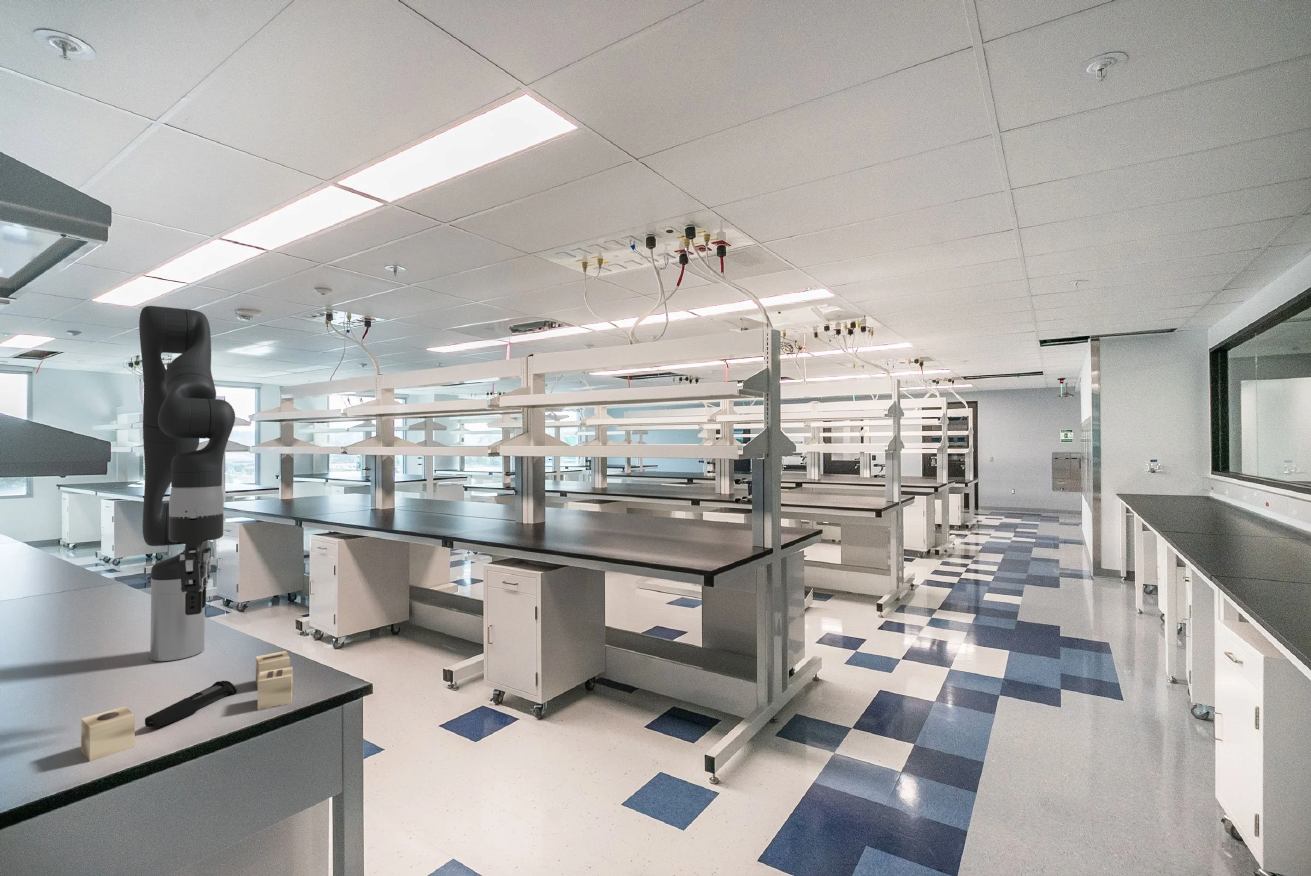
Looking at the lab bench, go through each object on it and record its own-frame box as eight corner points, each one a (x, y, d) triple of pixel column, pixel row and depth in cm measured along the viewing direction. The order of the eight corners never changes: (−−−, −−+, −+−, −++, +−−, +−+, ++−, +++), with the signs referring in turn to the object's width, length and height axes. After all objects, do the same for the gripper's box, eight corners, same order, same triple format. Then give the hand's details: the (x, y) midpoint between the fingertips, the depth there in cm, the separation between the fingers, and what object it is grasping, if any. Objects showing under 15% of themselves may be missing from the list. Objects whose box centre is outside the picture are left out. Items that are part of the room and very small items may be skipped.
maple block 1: (81, 751, 88) (81, 717, 88) (124, 737, 92) (125, 705, 92) (89, 762, 85) (90, 726, 85) (134, 747, 90) (134, 713, 90)
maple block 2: (255, 682, 114) (255, 655, 114) (285, 675, 117) (285, 650, 117) (258, 690, 110) (258, 663, 110) (289, 683, 113) (290, 657, 113)
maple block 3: (260, 699, 106) (260, 671, 106) (292, 693, 109) (292, 666, 109) (257, 710, 102) (257, 680, 102) (291, 703, 105) (291, 675, 105)
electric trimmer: (136, 735, 94) (136, 715, 94) (220, 692, 110) (220, 675, 110) (157, 736, 94) (157, 717, 94) (238, 694, 109) (238, 677, 109)
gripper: (177, 509, 107) (176, 604, 106) (159, 518, 94) (158, 625, 94) (228, 507, 110) (227, 598, 110) (217, 515, 98) (216, 618, 98)
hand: (195, 610), depth 102 cm, fingers open, 3 cm apart
